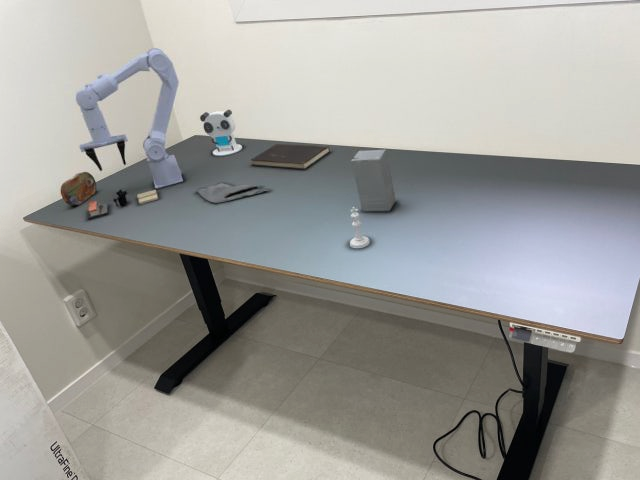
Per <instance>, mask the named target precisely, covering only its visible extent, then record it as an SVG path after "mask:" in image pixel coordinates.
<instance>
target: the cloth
mask: <svg viewBox="0 0 640 480" xmlns="http://www.w3.org/2000/svg"><path fill="white" fill-rule="evenodd" d="M195 191H196V193H197V194H198V195H199V196H200V197H202V198H203V199H204V200H206V201H207V202H210V203H214V204H220V203H224V202H229V201H234V200H239V199H241V198H246V197H249V196H254V195H259V194H261V193H266V192H269V191H270V190H269V189H264V188H261V186H258V185H256V184H255V185H254V184H241V185H234V186H233V185H230V184H228V183H222V182H220V183H218V184H215V185H210V186H207V187H206V188H204V187H203V188H202V187H201V188H200V189H196V190H195Z"/></svg>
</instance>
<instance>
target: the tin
mask: <svg viewBox="0 0 640 480" xmlns="http://www.w3.org/2000/svg"><path fill="white" fill-rule="evenodd" d="M96 191H97V182H96V179H95V177H94V176H93V175H92V174H91V173H90V172H88V171H82V172H78V173H75V174H74V175H73V176H72V177H70V178H68V179H67V180H66V181H64V182H63V183H62V184H61V186H60V195H61V197H62V199H63V202H64V203H65V204H67V205H69V206H80V205H82V204H83V203H84V202H86V201H87V200H88V199H90V198H91V197H92V196H94V195H95V193H96Z"/></svg>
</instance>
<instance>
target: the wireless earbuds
mask: <svg viewBox="0 0 640 480" xmlns="http://www.w3.org/2000/svg"><path fill="white" fill-rule="evenodd" d="M115 194H116V196H118V197H117V198H113V199H112V200H113V203H115V205H116V207H119V206H121V207H124V206H125V205H126V204H127V203H128V199H127V194H128V192H127V190H124V191H123V190H122V189H121V188H120V189H119V190H118V191H116V192H115Z"/></svg>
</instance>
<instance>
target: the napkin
mask: <svg viewBox="0 0 640 480" xmlns="http://www.w3.org/2000/svg"><path fill="white" fill-rule="evenodd" d="M137 199H138V203H139V205H143V204H147V203H150V202H154V201H157V200H159V196H158V192H157V189H153V190H149V191H145V192H141V193H138V194H137Z"/></svg>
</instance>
